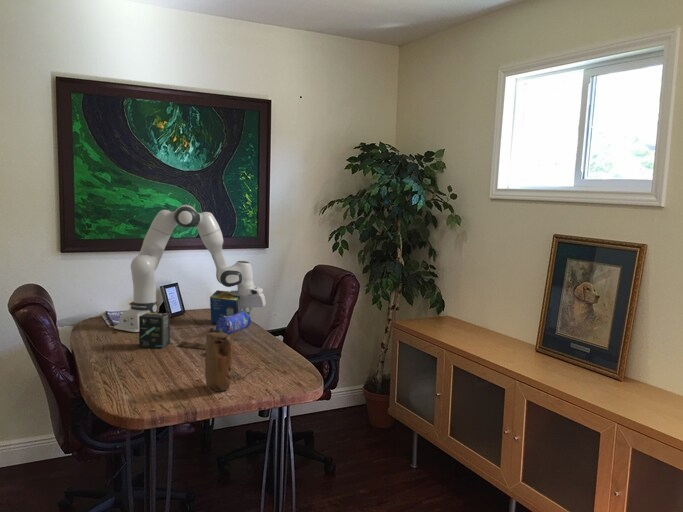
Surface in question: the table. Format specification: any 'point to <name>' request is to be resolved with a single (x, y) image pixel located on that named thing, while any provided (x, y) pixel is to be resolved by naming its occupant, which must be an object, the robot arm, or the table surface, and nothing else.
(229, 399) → the table surface
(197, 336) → the frame
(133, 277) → the robot arm
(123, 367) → the table surface
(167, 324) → the tampon box
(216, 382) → the block
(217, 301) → the protein box
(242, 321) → the pencil case
